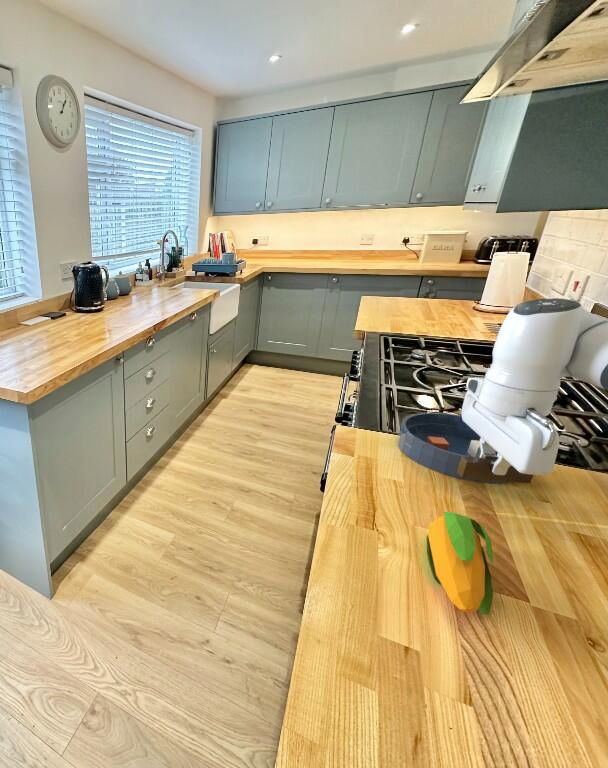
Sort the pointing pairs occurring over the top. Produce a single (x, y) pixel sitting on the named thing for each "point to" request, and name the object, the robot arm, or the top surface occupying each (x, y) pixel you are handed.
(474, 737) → the top surface
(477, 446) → the cream block
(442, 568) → the corn
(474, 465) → the brown bar
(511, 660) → the top surface
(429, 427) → the bowl
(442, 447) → the terracotta block
